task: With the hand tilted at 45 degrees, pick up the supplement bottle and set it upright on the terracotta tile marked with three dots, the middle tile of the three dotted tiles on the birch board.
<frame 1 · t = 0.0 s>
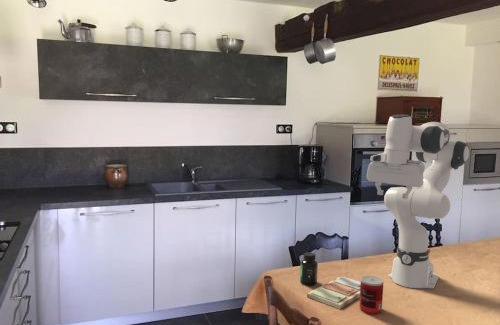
hand: (392, 196, 157), 39 cm above the table, tool pointing down, fingers open, 8 cm apart
supplement bottle: (308, 283, 175), on the table
tile board: (339, 293, 166), on the table
canned food: (370, 310, 152), on the table
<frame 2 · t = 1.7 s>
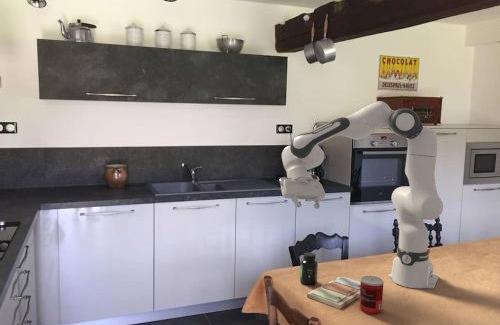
hand: (308, 207, 176), 30 cm above the table, tool tilted 45°, fingers open, 8 cm apart
nothing on the table moved.
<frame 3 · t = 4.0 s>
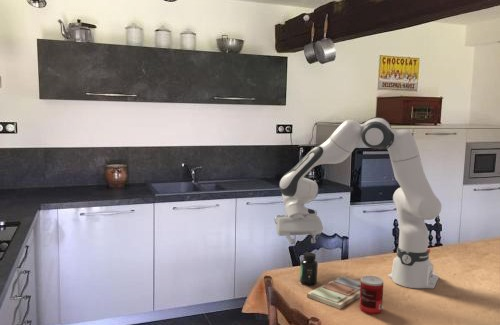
hand: (303, 243, 182), 14 cm above the table, tool tilted 45°, fingers open, 8 cm apart
nothing on the table moved.
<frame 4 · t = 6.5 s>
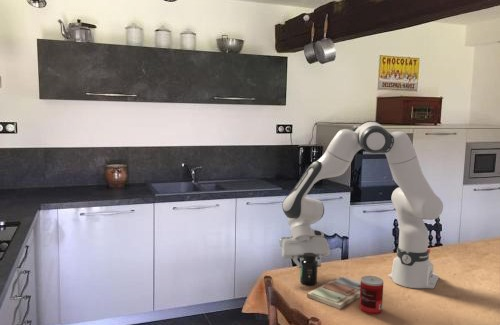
hand: (309, 266, 174), 7 cm above the table, tool tilted 45°, fingers closed on supplement bottle, 7 cm apart
supplement bottle: (308, 283, 175), on the table, touching gripper
everything else where it was.
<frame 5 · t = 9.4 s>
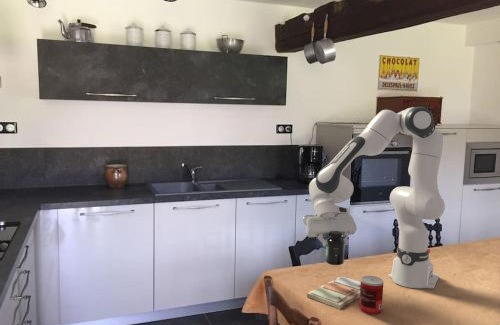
hand: (335, 244, 165), 18 cm above the table, tool tilted 45°, fingers closed on supplement bottle, 7 cm apart
supplement bottle: (334, 262, 167), point 11 cm above the table, touching gripper
everything else where it was.
when the fingers open (10 cm above the table, at t = 12.5 s): supplement bottle stays where it is, resting on tile board.
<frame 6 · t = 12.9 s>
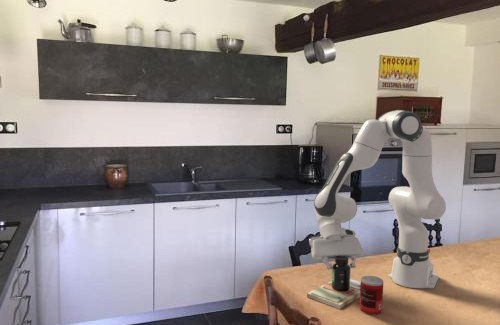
hand: (341, 268, 164), 10 cm above the table, tool tilted 45°, fingers open, 8 cm apart
supplement bottle: (340, 288, 165), point 2 cm above the table, touching tile board
everything else where it was.
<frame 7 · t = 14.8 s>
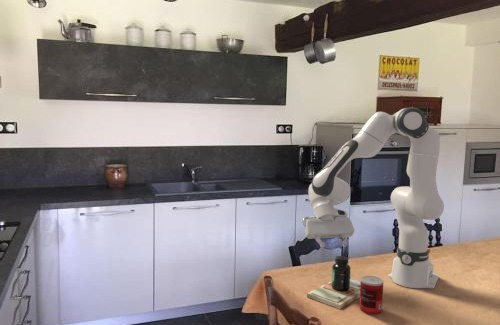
hand: (334, 246, 171), 16 cm above the table, tool tilted 45°, fingers open, 8 cm apart
nothing on the table moved.
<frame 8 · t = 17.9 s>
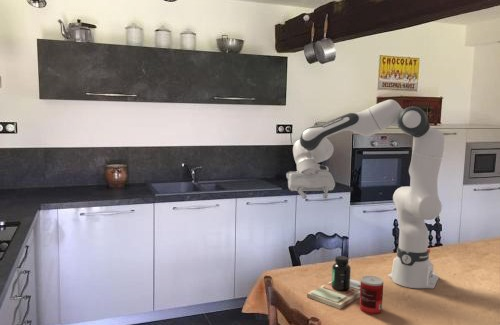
hand: (315, 197, 180), 33 cm above the table, tool tilted 45°, fingers open, 8 cm apart
nothing on the table moved.
at the end: supplement bottle inside the target area on the tile board (0.2 cm from its centre), point 1.8 cm above the tile board's base; supplement bottle tilted 0°; the gripper is holding nothing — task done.
